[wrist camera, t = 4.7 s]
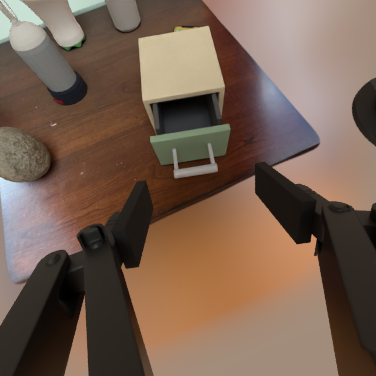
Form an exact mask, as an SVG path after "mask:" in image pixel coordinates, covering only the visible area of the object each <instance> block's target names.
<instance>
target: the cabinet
mask: <svg viewBox="0 0 376 376" xmlns="http://www.w3.org/2000/svg"><path fill="white" fill-rule="evenodd" d="M139 54H140V69H141V84H142V99H143V103H144V106H145V108H146V111H147V113H148V116H149V118H150V121H151V123H152V126H153V128H154V131H155V126H154V114H153V103H157V102H163V101H169V100H175V99H181V98H186V97H192V96H198V95H204V94H210V93H216V96H217V100H218V104H219V108H220V112H221V116H222V108H223V100H224V91H225V85H224V81H223V78H222V74H221V70H220V66H219V63H218V59H217V55H216V52H215V48H214V44H213V41H212V37H211V33H210V29H209V26H206V27H200V28H195V29H189V30H184V31H178V32H172V33H167V34H161V35H156V36H150V37H145V38H139ZM155 133H156V131H155ZM156 136H157V134H156Z"/></svg>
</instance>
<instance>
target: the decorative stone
mask: <svg viewBox="0 0 376 376" xmlns="http://www.w3.org/2000/svg"><path fill="white" fill-rule="evenodd" d="M50 161H51V160H50V154H49V151H48V150H47V149H46V146H45V145H44V143H42V142H41V141H40V140H39V139H38V138H36V137H35V136H34V135H32V134H30V133H28V132H25V131H23V130H20V129H17V128H13V127H1V128H0V177H1V178H4V179H5V180H9V181H12V182H30V181H34V180H36V179H38V178H40V177H42V176H43V175H44V174H46V173H47V171H48V170H49V167H50Z"/></svg>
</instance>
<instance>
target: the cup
mask: <svg viewBox="0 0 376 376" xmlns="http://www.w3.org/2000/svg"><path fill="white" fill-rule="evenodd" d="M20 1H22V2H24V3H25V4H26V5H27V6H28V7H29V8H30V9H31V10H32V11H33V12H35V14H36V15H37V16H38V17H39V18H40V19H41V20H42V21H43V22H44V23H45V25H46V26H47V27H48V28H49V30H50V31H51V33H52V34H53V37H54V39H55V40H56V42H57V43H58V44H59V45H60V46H62V47H63V48H64V49H66V50H68V51H69V50H70V49H71V47H72V46H75V47H81V42H82V40H85V35H84V33H83V31H82V29H81V27H80V25H79V24H78V23H77V21H76V19H75V17H74V15H73V13H72V11H71V9H70V7H69V4H68V1H67V0H20Z"/></svg>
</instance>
